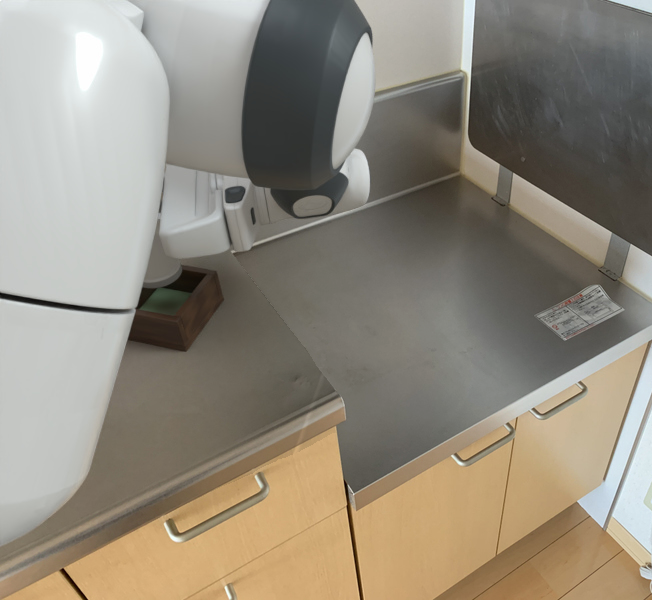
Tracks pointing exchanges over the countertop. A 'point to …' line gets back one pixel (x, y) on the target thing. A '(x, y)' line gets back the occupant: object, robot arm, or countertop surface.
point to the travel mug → (161, 265)
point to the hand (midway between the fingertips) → (126, 206)
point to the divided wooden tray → (177, 309)
